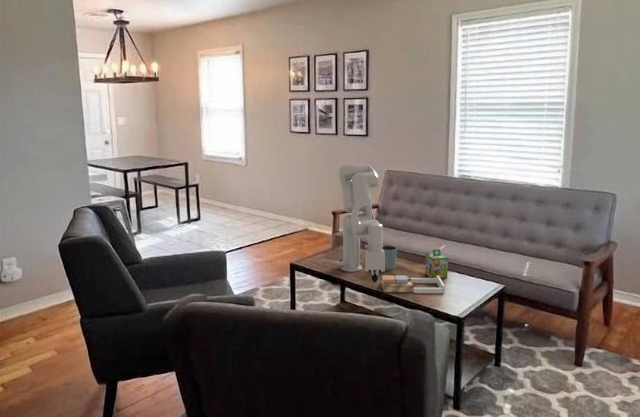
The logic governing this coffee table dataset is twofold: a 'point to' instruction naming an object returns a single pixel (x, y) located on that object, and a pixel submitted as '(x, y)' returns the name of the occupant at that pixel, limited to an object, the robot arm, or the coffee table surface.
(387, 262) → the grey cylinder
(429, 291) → the white u-shaped bracket
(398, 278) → the tile
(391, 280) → the tile
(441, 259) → the chalk box
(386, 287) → the wooden tray
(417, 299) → the coffee table surface
